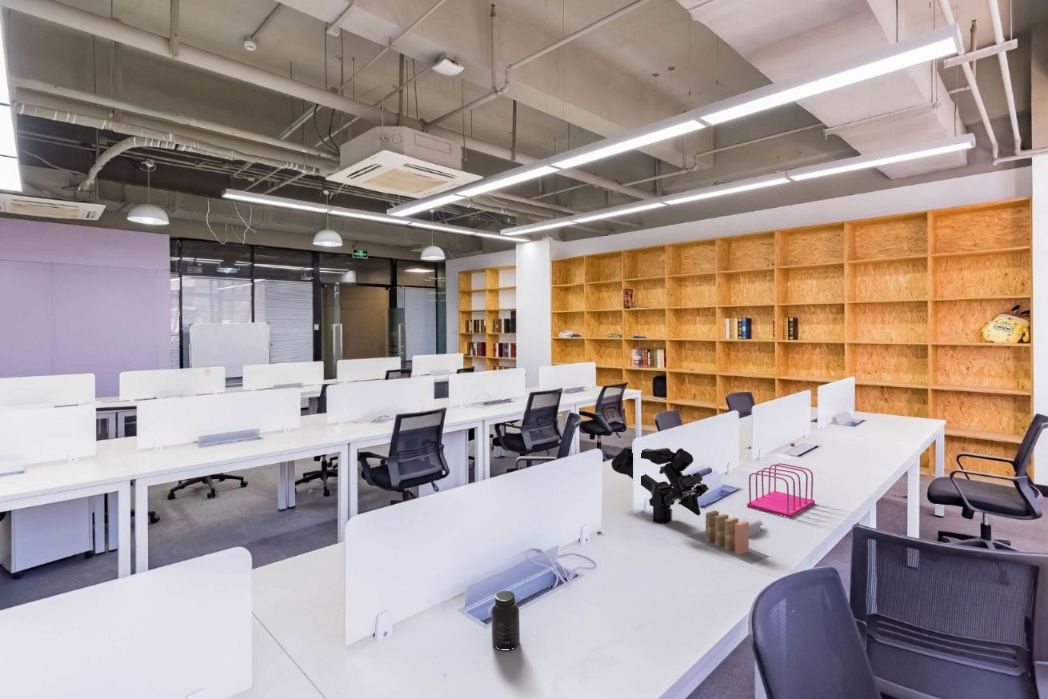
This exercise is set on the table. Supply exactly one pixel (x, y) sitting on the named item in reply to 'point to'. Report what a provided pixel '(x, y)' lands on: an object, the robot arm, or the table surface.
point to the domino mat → (748, 557)
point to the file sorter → (781, 494)
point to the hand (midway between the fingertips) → (699, 515)
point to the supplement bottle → (505, 621)
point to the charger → (750, 523)
